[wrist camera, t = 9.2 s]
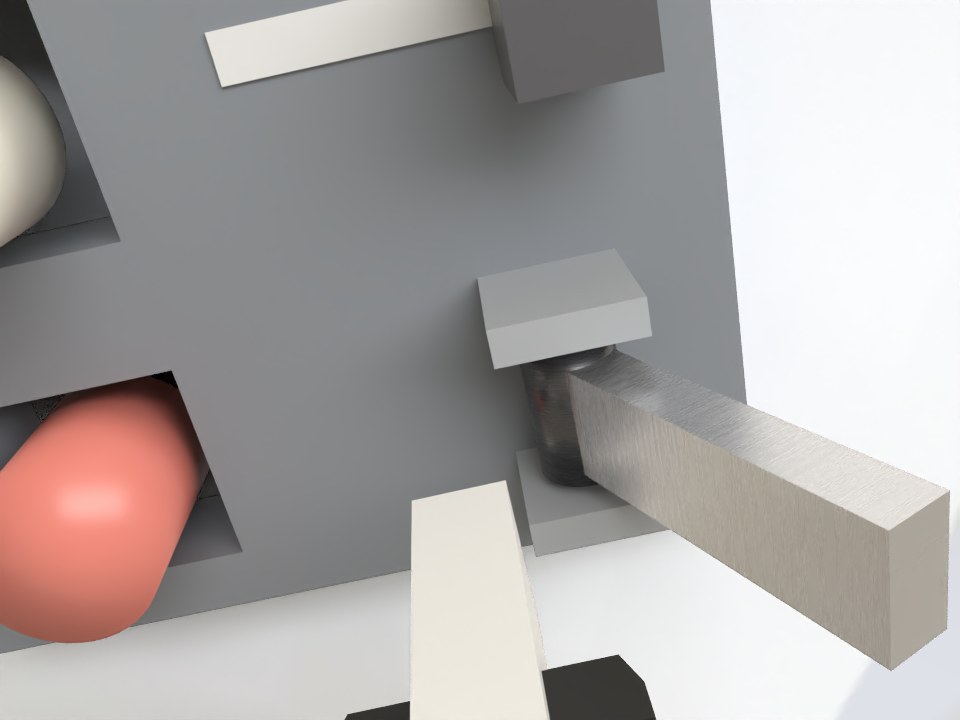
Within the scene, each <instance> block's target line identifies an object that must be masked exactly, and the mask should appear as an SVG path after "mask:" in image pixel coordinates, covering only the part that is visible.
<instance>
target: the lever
mask: <svg viewBox="0 0 960 720" xmlns="http://www.w3.org/2000/svg"><path fill="white" fill-rule="evenodd" d="M520 367H521V372H522V377H523V382H524V387H525V391H526V396H527V401H528V406H529V411H530V415H531V420H532V425H533V430H534V435H535V439H536V444H537V449H538V454H539V459H540V464H541V468H542V472H543V474H544V475H545V477H546V478H548V479H549V480H550V481H552V482H554V483H556V484H560V485H563V486H570V487H586V486H593V485H598V484H600V485H602V486H603V487H605V488H606V489H608V490H609V491H611V492H612V493H614V494H616V495H617V496H619V497H620V498H622V499H623V500H625V501H627V502H628V503H630V504H631V505H633V506H634V507H636V508H637V509H639V510H641V511H642V512H644V513H645V514H647V515H648V516H650V517H652V518H653V519H655V520H656V521H658V522H659V523H661V524H662V525H664V526H666V527H667V528H669V529H670V530H672V531H673V532H675V533H677V534H678V535H680V536H681V537H683V538H684V539H686V540H687V541H689V542H691V543H692V544H694V545H695V546H697V547H698V548H700V549H701V550H703V551H705V552H706V553H708V554H709V555H711V556H712V557H714V558H716V559H717V560H719V561H720V562H722V563H723V564H725V565H726V566H728V567H730V568H731V569H733V570H734V571H736V572H737V573H739V574H741V575H742V576H744V577H745V578H747V579H748V580H750V581H751V582H753V583H755V584H756V585H758V586H759V587H761V588H762V589H764V590H766V591H767V592H769V593H770V594H772V595H773V596H775V597H776V598H778V599H780V600H781V601H783V602H784V603H786V604H787V605H789V606H790V607H792V608H794V609H795V610H797V611H798V612H800V613H801V614H803V615H805V616H806V617H808V618H809V619H811V620H812V621H814V622H815V623H817V624H819V625H820V626H822V627H823V628H825V629H826V630H828V631H830V632H831V633H833V634H834V635H836V636H837V637H839V638H840V639H842V640H844V641H845V642H847V643H848V644H850V645H851V646H853V647H854V648H856V649H858V650H859V651H861V652H862V653H864V654H865V655H867V656H869V657H870V658H872V659H873V660H875V661H876V662H878V663H879V664H881V665H883V666H884V667H886V668H887V669H889V670H890V671H892V670H893V669H894V668H896V667H897V666H898V665H900V664H901V663H902V662H904V661H905V660H906V659H908V658H909V657H910V656H912V655H913V654H914V653H916V652H917V651H918V650H920V649H921V648H922V647H923V646H925V645H926V644H927V643H929V642H930V641H931V640H933V639H934V638H936V637H937V636H938V635H939V634H941V633H942V632H943V631H945V630H946V629H947V606H948V605H947V604H948V554H949V502H950V490H948V489H945V488H943V487H941V486H938V485H936V484H933V483H931V482H929V481H926V480H924V479H922V478H919V477H917V476H914V475H912V474H910V473H907V472H905V471H903V470H900V469H898V468H895V467H893V466H891V465H888V464H886V463H884V462H881V461H879V460H876V459H874V458H872V457H869V456H867V455H865V454H862V453H860V452H857V451H855V450H853V449H850V448H848V447H846V446H843V445H841V444H838V443H836V442H834V441H831V440H829V439H827V438H824V437H822V436H819V435H817V434H815V433H812V432H810V431H808V430H805V429H803V428H800V427H798V426H796V425H793V424H791V423H788V422H786V421H784V420H781V419H779V418H777V417H774V416H772V415H769V414H767V413H765V412H762V411H760V410H758V409H755V408H753V407H750V406H748V405H746V404H743V403H741V402H739V401H736V400H734V399H731V398H729V397H727V396H724V395H722V394H720V393H717V392H715V391H712V390H710V389H708V388H705V387H703V386H701V385H698V384H696V383H693V382H691V381H689V380H686V379H684V378H682V377H679V376H677V375H674V374H672V373H670V372H667V371H665V370H663V369H660V368H658V367H655V366H653V365H651V364H648V363H646V362H644V361H641V360H639V359H636V358H634V357H632V356H629V355H627V354H625V353H622V352H620V351H617V349H616V344H612V345H607V346H603V347H598V348H593V349H588V350H584V351H579V352H574V353H570V354H565V355H560V356H555V357H551V358H546V359H541V360H537V361H532V362H527V363H522V364H520Z"/></svg>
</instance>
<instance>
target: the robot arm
mask: <svg viewBox="0 0 960 720" xmlns="http://www.w3.org/2000/svg"><path fill="white" fill-rule="evenodd" d="M345 720H656V717H655V714H654V711H653V708H652V705H651V701H650V698H649V695H648V692H647V689H646V686H645V683H644V681H643V680H642V679H641V678H640V677H639V676H638V675H637V674H636V673H635V672H634V670H633V669H632V668H631V667H630V666H629V665H628V664H627V663H626V662H625V661H624V660H623V659H622V658H621V657H620V656H619V655H614V656H609V657H605V658H600V659H595V660H590V661H586V662H581V663H576V664H572V665H567V666H562V667H557V668H553V669H548V670H547V664H546V659H545V653H544V648H543V643H542V637H541V632H540V627H539V621H538V616H537V611H536V607H535V603H534V599H533V594H532V590H531V586H530V582H529V577H528V573H527V569H526V565H525V560H524V556H523V552H522V548H521V543H520V539H519V535H518V531H517V526H516V522H515V518H514V514H513V509H512V505H511V501H510V497H509V492H508V488H507V484H506V480H505V481H500V482H495V483H491V484H486V485H482V486H477V487H472V488H468V489H463V490H459V491H454V492H449V493H445V494H440V495H436V496H431V497H426V498H422V499H417V500H413V501H412V531H411V654H410V701H408V702H404V703H399V704H394V705H389V706H385V707H380V708H375V709H371V710H366V711H361V712H356V713H352V714H348V715H347V716H346V718H345Z"/></svg>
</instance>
